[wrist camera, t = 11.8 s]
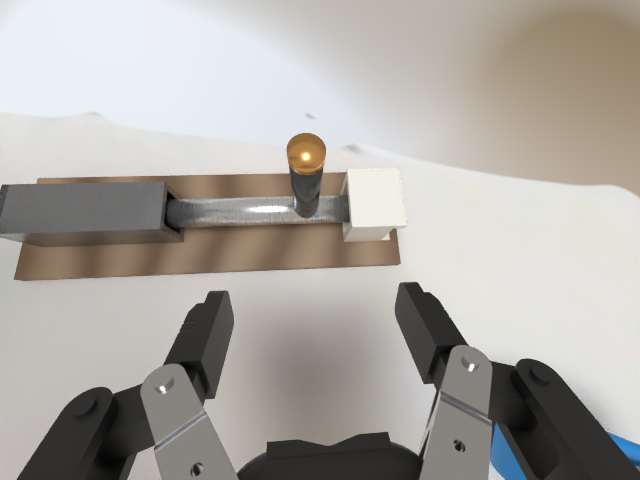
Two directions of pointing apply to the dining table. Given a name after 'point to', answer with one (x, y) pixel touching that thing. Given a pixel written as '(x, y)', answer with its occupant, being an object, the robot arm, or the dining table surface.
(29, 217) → the outer sleeve
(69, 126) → the dining table surface
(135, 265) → the base board
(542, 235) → the dining table surface
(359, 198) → the socket
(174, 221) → the sliding bolt
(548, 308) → the dining table surface
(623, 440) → the alarm clock
